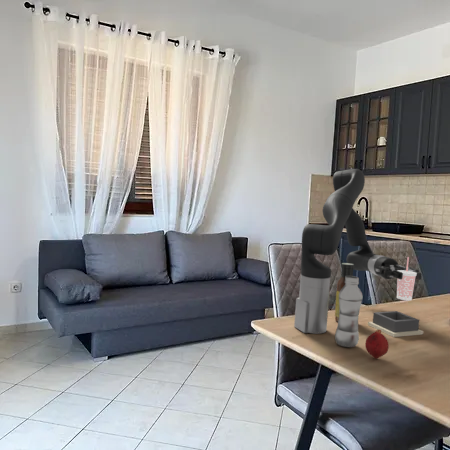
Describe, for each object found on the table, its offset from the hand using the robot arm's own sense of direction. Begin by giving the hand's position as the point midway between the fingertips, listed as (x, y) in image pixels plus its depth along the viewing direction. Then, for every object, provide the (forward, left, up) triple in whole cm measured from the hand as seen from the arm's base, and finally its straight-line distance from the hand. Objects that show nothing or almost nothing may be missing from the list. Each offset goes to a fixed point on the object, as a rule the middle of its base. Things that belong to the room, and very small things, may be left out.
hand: (410, 276), depth 141 cm
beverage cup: (0, +2, -8) cm, 9 cm away
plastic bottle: (-29, -8, -18) cm, 35 cm away
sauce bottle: (-15, +12, -18) cm, 27 cm away
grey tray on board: (-3, +1, -18) cm, 18 cm away
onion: (-27, -18, -18) cm, 37 cm away
